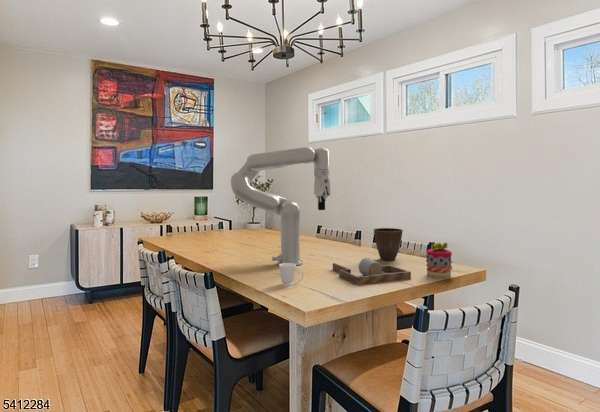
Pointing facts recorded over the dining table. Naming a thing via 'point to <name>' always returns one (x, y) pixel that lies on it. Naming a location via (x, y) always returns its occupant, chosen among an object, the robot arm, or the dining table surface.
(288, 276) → the cup
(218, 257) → the dining table surface
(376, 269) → the ceramic mug
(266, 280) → the dining table surface
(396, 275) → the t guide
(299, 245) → the robot arm
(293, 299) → the dining table surface
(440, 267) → the cake
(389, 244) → the plant pot
